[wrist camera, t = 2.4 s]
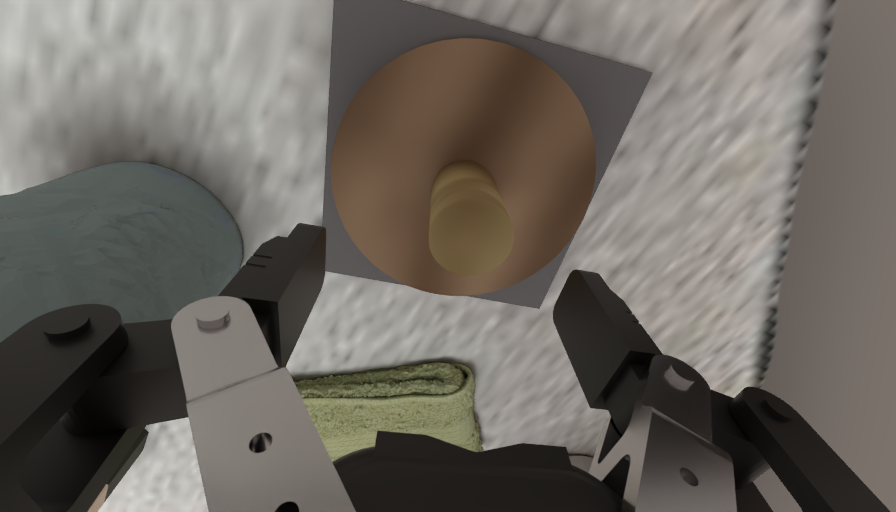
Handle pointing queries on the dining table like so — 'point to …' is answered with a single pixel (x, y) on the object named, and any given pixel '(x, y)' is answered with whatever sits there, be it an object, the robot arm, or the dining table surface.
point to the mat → (410, 26)
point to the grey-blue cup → (114, 244)
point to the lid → (463, 167)
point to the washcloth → (393, 406)
